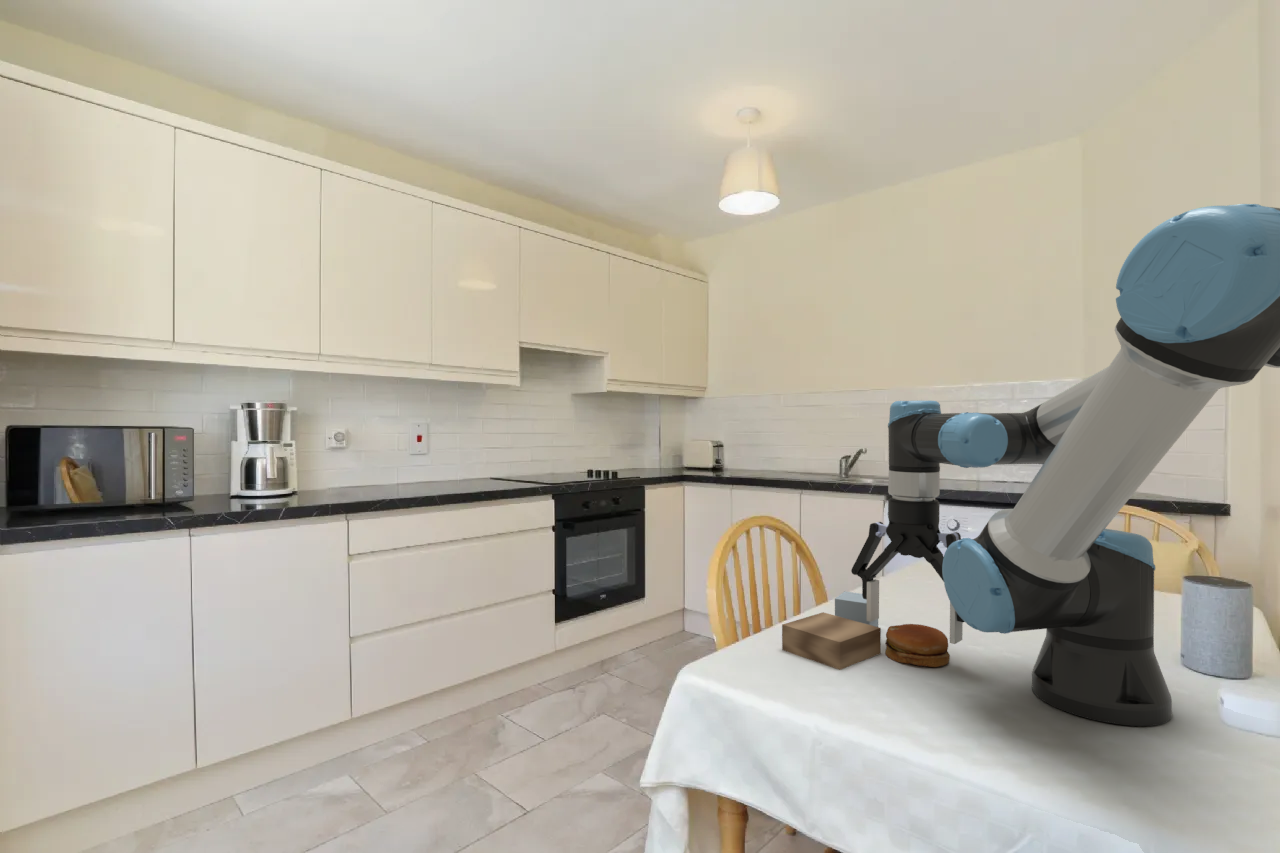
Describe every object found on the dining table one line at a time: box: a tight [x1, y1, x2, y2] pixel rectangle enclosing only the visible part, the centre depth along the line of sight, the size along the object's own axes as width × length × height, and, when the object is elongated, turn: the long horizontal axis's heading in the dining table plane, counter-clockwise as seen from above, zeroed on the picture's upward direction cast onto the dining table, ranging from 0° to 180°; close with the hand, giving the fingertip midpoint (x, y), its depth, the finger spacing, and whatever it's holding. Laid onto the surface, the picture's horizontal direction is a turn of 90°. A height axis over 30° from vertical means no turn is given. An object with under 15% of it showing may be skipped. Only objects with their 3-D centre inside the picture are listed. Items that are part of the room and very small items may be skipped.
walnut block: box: [781, 612, 882, 670], centre depth 105 cm, size 11×11×4 cm
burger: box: [884, 623, 951, 668], centre depth 102 cm, size 10×9×5 cm
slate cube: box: [834, 590, 879, 627], centre depth 115 cm, size 6×6×6 cm
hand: (912, 630), depth 103 cm, fingers open, 13 cm apart
